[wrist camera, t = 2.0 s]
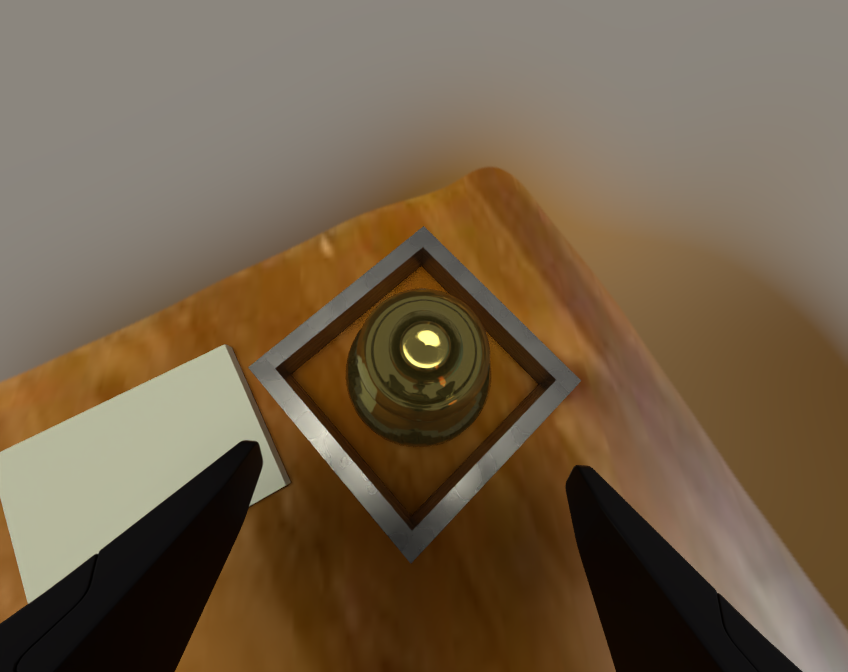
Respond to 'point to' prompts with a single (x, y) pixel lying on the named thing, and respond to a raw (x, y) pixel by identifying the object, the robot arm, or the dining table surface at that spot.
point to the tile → (125, 463)
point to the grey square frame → (336, 450)
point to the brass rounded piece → (419, 368)
